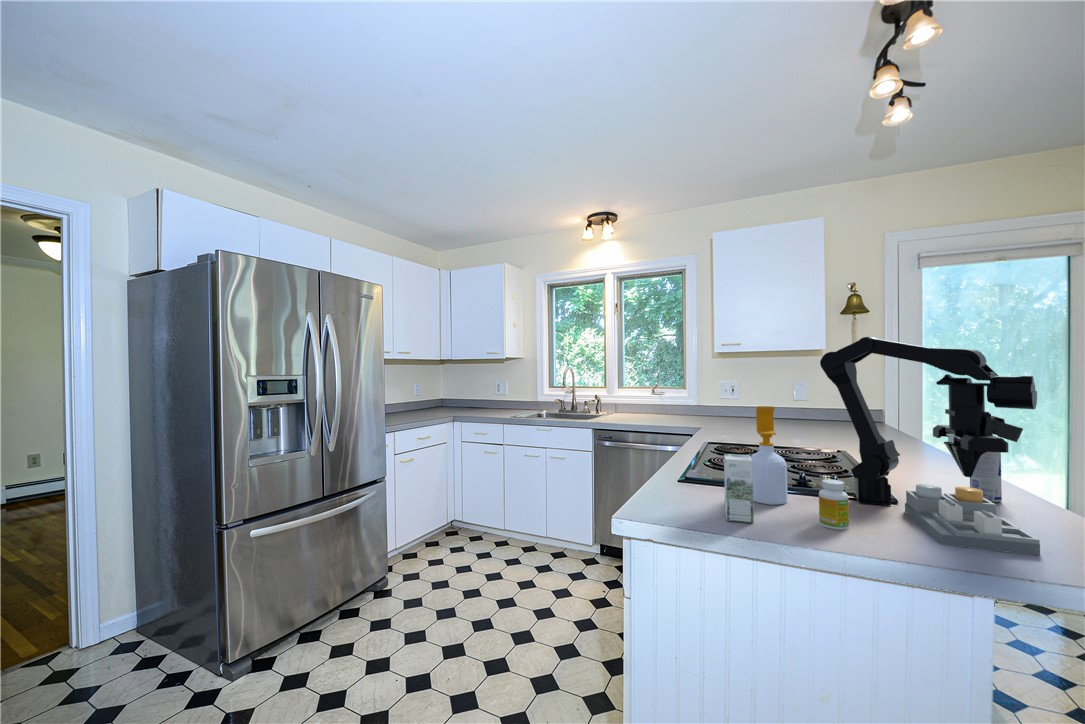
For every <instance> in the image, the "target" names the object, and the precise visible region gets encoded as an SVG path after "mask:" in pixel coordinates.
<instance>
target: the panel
mask: <svg viewBox="0 0 1085 724" xmlns="http://www.w3.org/2000/svg"><path fill="white" fill-rule="evenodd" d="M905 493H906V494H905V495H906V496H905V498H906V501H905V502H904V512H905V513H906V514H908V516H909V517H910V518H912V519H913V520H914V521H915V522H916V523H917V524H918V525H920V526H921V528H922V529H924V530H925V531H926V532H927V533H929V535H930V536H932V538H934V539H935V540H936V541H937V542H938V543H939V544H941V545H942V546H951V547H957V548H958V547H960V548H969V549H978V550H986V551H987V550H988V551H993V552H994V551H996V552H1005V553H1014V554H1021V555H1023V554H1024V555H1032V556H1033V555H1034V556H1041V543H1040V542H1041V541H1040V539H1038V537H1036V536H1033V535H1032V534H1031V533H1028V532H1027V531H1025V530H1023V529H1022V528H1021V527H1019V526H1017V525H1016V524H1014V523H1012V522H1011V521H1009V520H1007V519H1006V518H1004V517H1003V518H1002V517H999V518H1000V519H1002V535H995V534H985V533H980V532H978V531H977V530H975V529H974V511H980V512H981V510H985V511H986V512H991V513H992V514H994V515H995V516H997V504H996V503H992V502H991V501H989V500H987V499H985V498H983V503H979V502H966V501H958V500H957V499H955V493H948V492H947V493H946V492H945V493H942V501H945V499H947V500H950V501H954V502H955V503H957V504H958V505H960V506H961V507H962V508H963V522H958V521H947V520H944V519H943V518H941V517H940V516H939V500H941V499H928V498H918V497H917V496H916V490H907V489H906V490H905Z"/></svg>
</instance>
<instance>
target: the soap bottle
mask: <svg viewBox="0 0 1085 724" xmlns="http://www.w3.org/2000/svg"><path fill="white" fill-rule="evenodd" d="M775 408H776V407H775V406H773V405H772V406H765V405H764V406H763V405H762V406H761V405H760V406H759V405H758V406H757V407H756V411H755V413H756V414H755V415H756V416H755V417H756V433H757V434H758V435H759V436H760V438H762V441H760V442H759V444H758V446H759V447H758V449H759V451H757V452H755V453H753V454H752V455H750V457H751V460H752V462H753V502H755V503H758V504H762V505H769V506H781V505H784V504H787V503H788V501H789V500H788V499H789V498H788V497H789V496H788V465H787V462H786V460H785V458H783V457H782V456H781V455H779V454H777V453H776V452H775V449H774V446H775V445H774V443H773V442H772V441H771V438H773V436H775V435H776V432H775V428H774V427H775V426H774V421H775V420H774V410H775Z"/></svg>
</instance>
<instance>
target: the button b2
mask: <svg viewBox="0 0 1085 724" xmlns="http://www.w3.org/2000/svg"><path fill="white" fill-rule="evenodd" d="M954 494H955V499H957V500H958V501H966V502H979V503H983V491H982V490H979V489H975V488H970V486H969V487H968V486H956V487H954Z"/></svg>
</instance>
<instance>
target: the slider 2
mask: <svg viewBox="0 0 1085 724" xmlns="http://www.w3.org/2000/svg"><path fill="white" fill-rule="evenodd" d="M1000 518H1001V517H999V516H997V515H996V516H995V515H994V514H992V513H991V512H986V511H985V510H981V512H980V511H974V529H975V530H977V531H978V532H980V533H985V534H995V535H1002V519H1000Z"/></svg>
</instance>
